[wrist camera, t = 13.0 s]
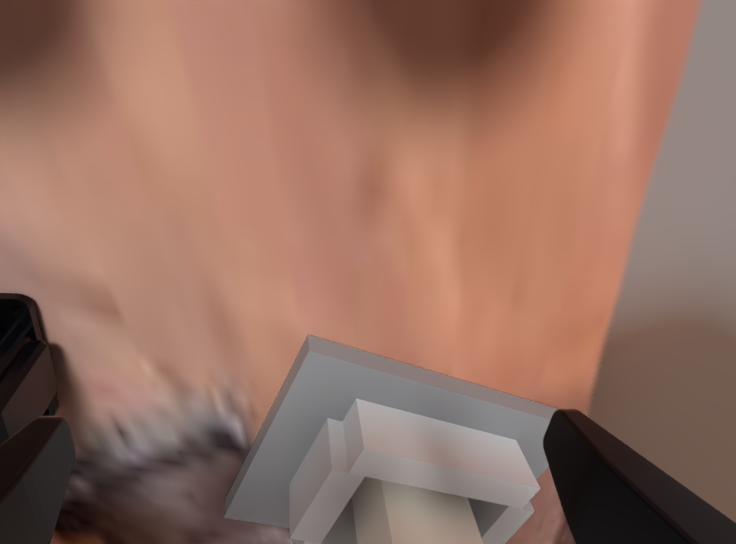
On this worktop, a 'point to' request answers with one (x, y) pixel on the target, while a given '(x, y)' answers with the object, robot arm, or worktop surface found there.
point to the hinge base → (376, 383)
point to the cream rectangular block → (411, 515)
